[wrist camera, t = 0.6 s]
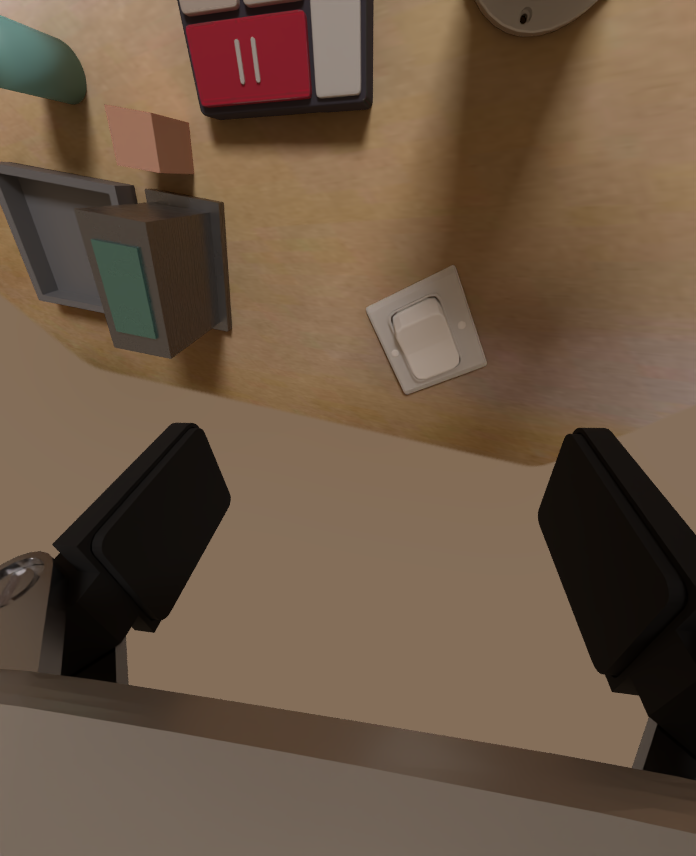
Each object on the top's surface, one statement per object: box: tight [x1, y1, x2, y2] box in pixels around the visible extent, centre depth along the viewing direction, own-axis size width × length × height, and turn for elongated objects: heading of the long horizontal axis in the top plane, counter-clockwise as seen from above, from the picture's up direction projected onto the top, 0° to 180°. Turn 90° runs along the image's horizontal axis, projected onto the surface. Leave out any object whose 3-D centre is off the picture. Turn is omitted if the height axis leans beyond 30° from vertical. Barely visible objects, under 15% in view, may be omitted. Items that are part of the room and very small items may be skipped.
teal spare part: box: [0, 15, 86, 104], centre depth 29 cm, size 4×4×7 cm
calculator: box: [177, 0, 374, 120], centre depth 27 cm, size 11×4×15 cm
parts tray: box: [0, 162, 137, 313], centre depth 39 cm, size 14×14×3 cm
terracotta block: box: [104, 104, 194, 174], centre depth 31 cm, size 4×4×6 cm
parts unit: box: [74, 189, 232, 359], centre depth 35 cm, size 14×8×12 cm, turn 172°
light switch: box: [366, 265, 487, 395], centre depth 40 cm, size 11×4×13 cm
